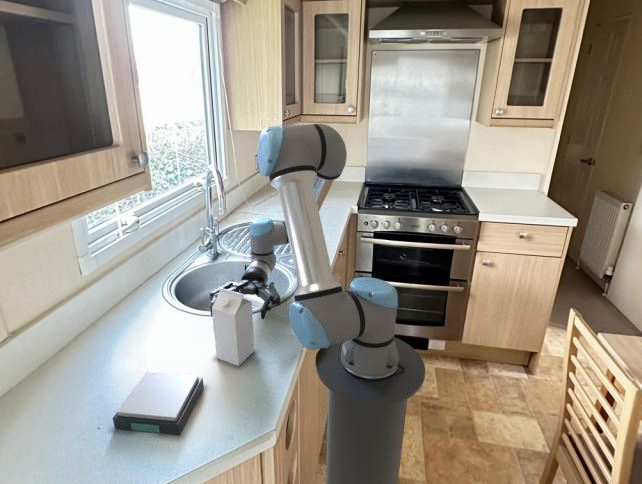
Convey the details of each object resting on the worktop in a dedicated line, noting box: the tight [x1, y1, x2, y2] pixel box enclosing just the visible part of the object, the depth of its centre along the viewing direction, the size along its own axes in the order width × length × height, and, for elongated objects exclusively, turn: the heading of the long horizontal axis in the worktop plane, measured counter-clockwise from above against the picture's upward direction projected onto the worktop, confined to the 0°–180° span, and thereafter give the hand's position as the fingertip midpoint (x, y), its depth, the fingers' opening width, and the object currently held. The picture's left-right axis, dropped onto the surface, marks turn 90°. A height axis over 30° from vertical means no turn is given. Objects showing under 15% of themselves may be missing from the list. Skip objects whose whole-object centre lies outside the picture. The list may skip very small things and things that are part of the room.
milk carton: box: [212, 287, 255, 367], centre depth 104 cm, size 7×7×19 cm
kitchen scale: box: [112, 371, 205, 437], centre depth 89 cm, size 14×14×4 cm
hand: (236, 313), depth 107 cm, fingers open, 13 cm apart
